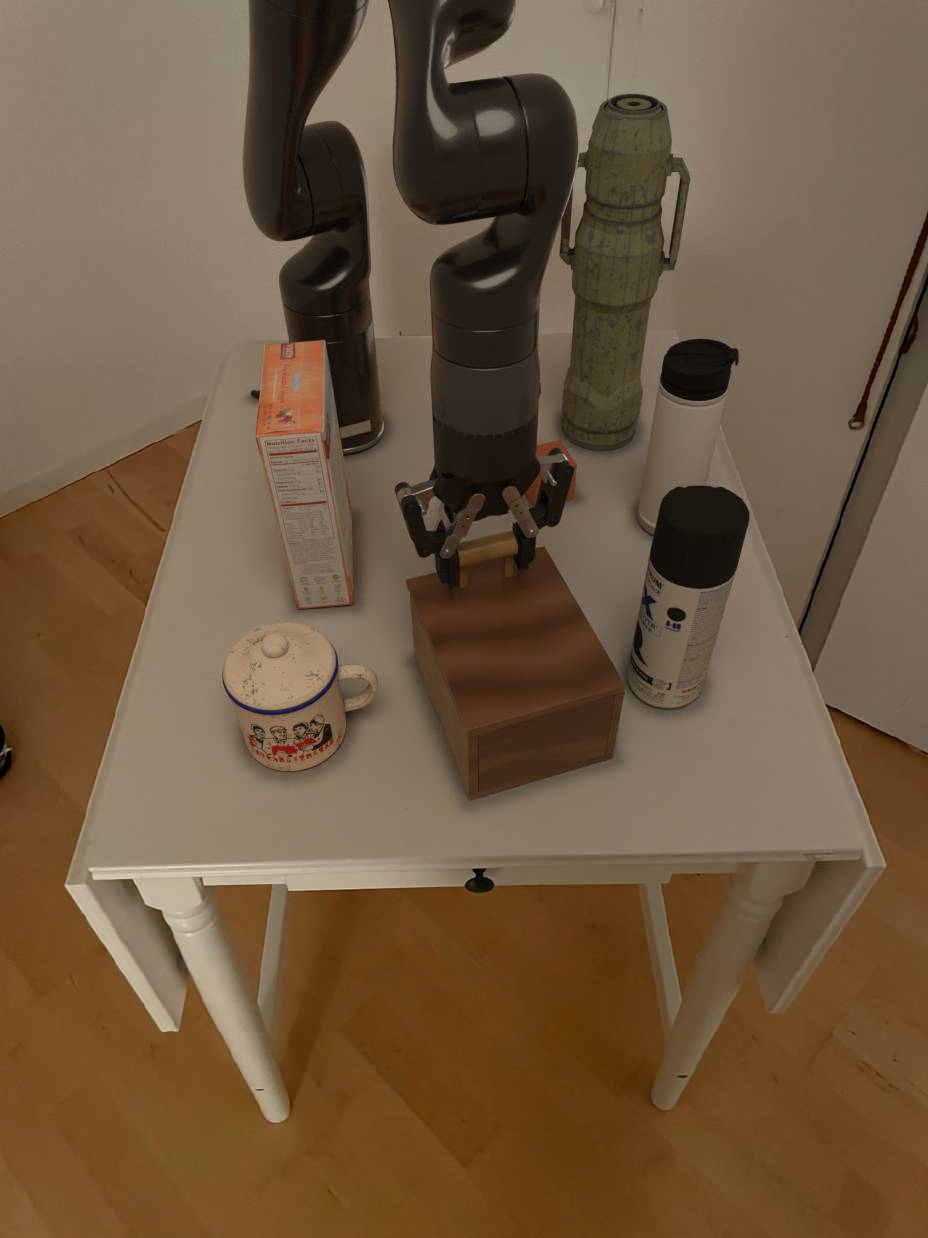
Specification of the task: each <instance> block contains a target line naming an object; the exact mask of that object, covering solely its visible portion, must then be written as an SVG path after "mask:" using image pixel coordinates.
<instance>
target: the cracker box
mask: <svg viewBox="0 0 928 1238" xmlns="http://www.w3.org/2000/svg"><path fill="white" fill-rule="evenodd" d="M259 390H260V397H259V401H258V406H257V407H258V408H257V416H256V426H255V441H256V445H257V449H258V454H259V457H260V460H261V465H262V469H263V474H264V478H265V482H266V485H267V489H268V493H269V498H270V502H271V505H272V510H273V514H274V518H275V522H276V527H277V531H278V535H279V540H280V544H281V548H282V552H283V556H284V559H285V565H286V568H287V569H286V570H287V573H288V577H289V581H290V585H291V588H292V593H293V598H294V601H295V605H296V609H297V610H304V609H305V610H308V609H317V608H318V609H319V608H330V607H342V606H343V607H344V606H353V605H355V588H354V587H355V586H354V585H355V584H354V544H353V543H354V542H353V540H354V539H353V510H352V502H351V495H350V490H349V483H348V477H347V471H346V470H347V469H346V464H345V458H344V454H343V451H342V445H341V438H340V432H339V425H338V419H337V412H336V406H335V399H334V393H333V386H332V380H331V373H330V367H329V361H328V355H327V349H326V343H325V340H318V341H307V342H295V343H289V342H282V343H270V344H264V345H263V356H262V365H261V377H260V387H259Z"/></svg>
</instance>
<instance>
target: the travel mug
mask: <svg viewBox="0 0 928 1238" xmlns="http://www.w3.org/2000/svg"><path fill="white" fill-rule="evenodd" d="M739 359H740V354H739V349H738V348H736V347H731V346H729V345H728V344H726V343H724V342H722V341H720V340H715V339H711V338H693V339H687V340H683V341H679V342H677V343H674V344H673V345H672V346H670V347H669V348H668V349H667V350H666V353H665V354H664V356H663V360H662V364H661V365H662V367H661V372H660V375H659V380H658V386H657V392H656V396H655V397H656V398H655V404H654V409H653V410H654V411H653V418H652V423H651V428H650V434H649V435H650V436H649V441H648V447H647V453H646V460H645V464H644V465H645V466H644V472H643V478H642V485H641V491H640V497H639V504H638V509H637V521H638V523H639V525H640V527H641V528H642V529H643V530H644V531H645V532H646V533H648V534H651V535H652V536H654V532H655V527H656V523H657V518H658V513H659V508H660V504H661V501H662V499H663V498H664V496H665V495H666V494H667V493H668V492H669V491H670V490H672V489H674V488H676V487H677V486H681V487H684V488H685V487H687V486H698V485H703V486H707V483H708V480H709V476H710V475H709V474H710V472H711V471H710V470H711V466H712V462H713V458H714V452H715V449H716V444H717V440H718V434H719V431H720V427H721V422H722V417H723V414H724V409H725V405H726V400H727V395H728V392H729V386H730V380H731V376H732V375H731V374H732V367H733V364H734V366H736V367H737V366H738V365H739V361H740V360H739Z"/></svg>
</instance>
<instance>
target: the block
mask: <svg viewBox="0 0 928 1238" xmlns="http://www.w3.org/2000/svg"><path fill="white" fill-rule="evenodd" d="M554 448H560V449H561V450H562V451H563V453H564V454H565V456H566V457H567V459H568V460H569V462H570V463H571V465H572V466H573V468H574V474H573V477H572V481H571V484H570V488H569V491H568V495H567V498H566V501H569V500H573V499H575V489H576V479H577V467H578V464H577V462H576V461H575V459H574V458H573V456H572V455H571V454H570V452H569V451H568V449H567V448H566V447H565V445H564V443H563V442H562V440H561V439H558V440H554V441H553V440H552V441H549V442H544V443H540V444H537V449H536V456H548V454H549V452H550V451H551V450H552V449H554ZM541 480H542V478H541V476H540V474H539V475H538V477H537V478H536V479H535V481H534V482H533V483H532V485H531V486H530V487H529V489H528V490H527V491H526V493H525V495H526V496H527V498H528V500H529V501H530V504H531V505H532V507H534V506H535V503H536V499H537V495H538V492H539V488H540V484H541Z"/></svg>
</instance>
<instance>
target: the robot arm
mask: <svg viewBox="0 0 928 1238" xmlns="http://www.w3.org/2000/svg"><path fill="white" fill-rule="evenodd" d="M247 2H248V37H249V38H248V42H249V44H248V45H249V48H248V49H249V52H248V53H249V57H248V58H249V59H248V60H249V61H248V62H249V64H248V66H249V67H248V84H247V85H248V86H247V96H246V107H245V118H244V119H245V121H244V133H243V143H242V145H243V146H242V147H243V148H242V181H243V182H242V183H243V189H244V194H245V199H246V204H247V207H248V211H249V214H250V215H251V218H252V220H253V223H254V224H255V226H256V227H257V229H258V231H260V233H261V234H262V235H264V237H266V238H268V239H269V240H272V241H274V242H278V243H279V242H281V243H282V242H283V243H284V242H294V241H299V240H302V239H306V238H310V239H309V240H308V241H307V243H306V244H304V246H302V248H301V249H299V250H298V251H297V252H295V253H294V254H293V255H292V256H291V257H289V258H288V259H287V260H286V261H285V262H284V264H283V265H282V266H281V268H280V270H279V273H278V287H279V292H280V299H281V305H282V309H283V310H282V311H283V314H284V321H285V326H286V332H287V338H288V343H295V342H307V341H318V340H325V343H326V349H327V355H328V361H329V367H330V373H331V380H332V386H333V393H334V399H335V406H336V412H337V419H338V425H339V432H340V438H341V445H342V451H343V455H351V454H356V453H359V452H362V451H363V452H364V451H365V450H367V449H369V448H371V447H373V446H375V444H377V443H378V442H379V441H380V440H381V438H382V437H383V435H384V432H385V422H384V418H383V410H382V409H383V408H382V398H381V397H382V395H381V387H380V378H379V368H378V367H379V366H378V356H377V348H376V337H375V327H374V317H373V308H372V296H371V286H370V277H371V273H372V272H371V271H372V253H371V252H372V251H371V233H370V204H369V203H370V202H369V186H368V180H367V178H368V177H367V172H366V166H365V162H364V159H363V155H362V154H363V153H362V151H361V149H360V146H359V144H358V142H357V139H356V138H355V136H354V134H353V133H352V131H351V129H349V128H348V127H347V126H346V125H345V124H343V123H342V122H340V121H337V120H325V121H318V122H315V123H310V124H306V123H307V121H308V118H309V115H310V113H311V111H312V109H313V107H314V105H315V103H316V102H317V101H318V99H319V97H320V95H321V94H322V93H323V91H324V90H325V88H326V87H327V85H328V84H329V83H330V81H331V80H332V79H333V77H334V75H335V74H336V72H337V71H338V69H339V68H340V66H341V65H342V63H343V62H344V60H345V59H346V57H347V55H348V54H349V52H350V51H351V49H352V47H353V45H354V43H355V41H356V40H357V38H358V36H359V34H360V32H361V30H362V28H363V25H364V22H365V19H366V16H367V13H368V8H369V4H370V0H248V1H247ZM516 2H517V1H516V0H387V4H388V9H389V14H390V20H391V27H392V36H393V37H392V38H393V50H394V65H395V66H394V67H395V68H394V69H395V71H394V72H395V88H394V89H395V91H394V112H393V126H392V127H393V129H392V144H391V145H392V149H391V151H392V170H393V171H392V172H393V176H394V181H395V185H396V188H397V191H398V193H399V195H400V198H401V199H402V201H403V202H404V204H405V205H406V206H407V208H408V209H409V210H410V211H411V213H412V214H413V215H414V216H416V217H417V218H418V219H419V220H420V221H422V222H424V223H426V224H429V225H434V226H449V225H455V224H456V225H457V224H460V223H468V222H471V221H479V220H484V219H491V218H493V219H492V220H491V222H490V223H489V224H488V226H486V227H485V228H484V229H483V230H482V231H480V232H478V233H477V234H474V235H473V236H471V237H469V238H467V239H465V240H462V241H460V242H458V243H456V244H454V245H452V246H450V247H448V248H447V249H446V250H444V251H443V252H442V253H440V254H439V255H438V256H437V257H436V259H435V261H434V262H433V264H432V266H431V270H430V274H429V297H430V319H431V322H430V323H431V341H432V344H431V345H432V346H431V348H432V350H431V359H430V370H429V371H430V372H429V373H430V375H429V376H430V377H429V378H430V397H431V398H430V399H431V400H430V401H431V419H432V439H433V440H432V441H433V457H434V464H433V468H432V471H430V472H431V473H430V474H429V477H428V480H425V481H423V482H420V483H418V484H415V485H412V486H411V485H410V483H409V482H407V481H401V482H398V483H397V484H396V485H395V486H394V493H395V496H396V499H397V503H398V505H399V508H400V511H401V514H402V517H403V520H404V522H405V526H406V529H407V532H408V535H409V537H410V540H411V541H412V543H413V545H414V548H415V551H416V553H417V556H418V557H419V558H421V559H426V558H429V557H430V556H431V555H434V568H435V569H434V570H435V572H437V574H438V576H439V578H440V580H441V582H442V583H443V584H445V583H447V584H448V586H449V588H454V587H458V557H457V554H456V552H455V551H456V549H457V546H458V544H459V543H461V540H462V538H463V539H464V538H467V535H468V533H469V531H470V529H471V527H472V525H473V523H474V522H478V521H481V520H484V519H486V518H488V517H500V516H505V515H508V514H509V511H510V512H511V514H512V516H513V518H514V519H515V520H516V522H513V523H512V529H511V531H512V532H513V533H514V535H515V537H516V540H517V545H518V553H517V554H516V555H513V560H514V562H515V564H516V565H517V567H518V569H519V571H522V570H526V569H528V568H529V563H530V562H533V560H534V558H535V548H537V536H538V534H539V532H540V530H541V529H543V528H545V527H548V528H554V527H557V526H558V525H559V524H560V522H561V519H562V515H563V512H564V509H565V505H566V501H567V500H566V498H567V495H568V491H569V488H570V484H571V481H572V477H573V474H574V468H573V466H572V465H571V463H570V462H569V460H568V459H567V457H566V456H565V454H564V453H563V451H562V450H561V449H560V448H554V449H552V450H551V451H550V452H549V454H548V456H536V449H537V445H538V427H539V425H538V424H539V409H540V407H539V406H540V397H541V394H542V384H541V364H540V354H539V332H540V331H539V329H540V310H541V309H540V305H541V290H542V284H543V279H544V276H545V273H546V270H547V267H548V263H549V260H550V256H551V254H552V250H553V246H554V243H555V240H556V237H557V235H558V231H559V229H560V227H561V220H562V217H563V214H564V212H565V209H566V206H567V203H568V200H569V197H570V194H571V190H572V187H573V188H574V184H575V183H574V182H575V180H576V175H577V171H578V169H577V166H578V157H579V153H580V128H579V123H578V118H577V114H576V110H575V107H574V105H573V102H572V99H571V98H570V96H569V94H568V93H567V91H566V90H565V88H564V87H563V86H562V84H561V83H559V82H558V81H557V80H556V79H555V78H554V77H552V76H551V75H548V74H544V73H540V72H539V73H537V72H525V73H518V74H509V75H503V76H496V77H490V78H489V77H488V78H481V79H474V80H466V81H460V82H449V81H448V80H447V76H446V72H445V70H447V69H448V68H450V67H453V66H454V65H456V64H458V63H460V62H463V61H465V60H467V59H469V58H472V57H474V56H477V55H478V54H481V53H483V52H485V51H486V50H488V49H489V48H491V47H493V46H494V45H496V44H497V43H498V42H500V40H501V39H503V37H504V36H505V35H506V34H507V32H509V30H510V27H511V26H512V23H513V21H514V18H515V14H516V6H517V5H516V4H517V3H516ZM250 396H251V397H253V398H256V399H258V398H260V389H258V390H255V389H252V390H251V391H250ZM539 474H540V476H541V478H542V480H541V484H540V488H539V492H538V495H537V499H536V503H535V506H532V507H529V508H528V507H527V505H526V503H525V501H524V499H523V496H525V495H526V491H527V490H528V489H529V487H530V486H531V485H532V483H533V482H534V481H535V479H536V478H537V477H538V475H539ZM434 497H435V498H436V499H438V500H439V501H440V504H439V507H438V517H437V520H436V522H435V524H434V527H433V528H432V530H428V529H427V527H426V524H425V520H424V516H427V514H428V510H429V508H430V501H431V499H433V498H434Z"/></svg>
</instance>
